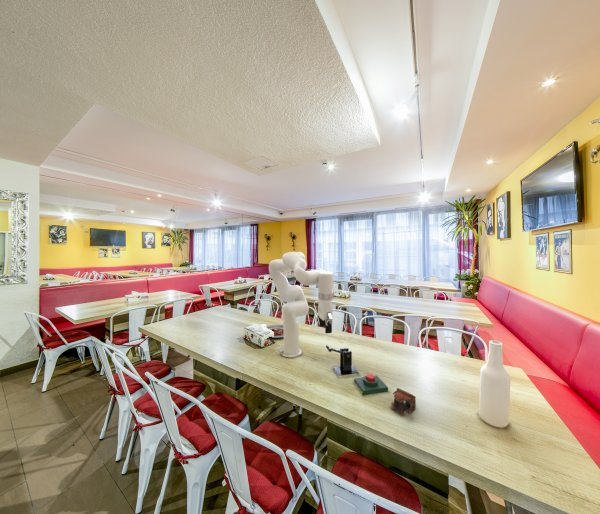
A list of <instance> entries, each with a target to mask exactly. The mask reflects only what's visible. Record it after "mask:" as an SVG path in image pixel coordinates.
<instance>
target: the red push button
mask: <svg viewBox="0 0 600 514" xmlns="http://www.w3.org/2000/svg"><path fill="white" fill-rule="evenodd" d="M366 375H367V380H368V381H371V382H373V381H375V376H376V375H374V374H371V373H368V374H366Z"/></svg>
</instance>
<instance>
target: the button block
mask: <svg viewBox="0 0 600 514" xmlns="http://www.w3.org/2000/svg"><path fill="white" fill-rule="evenodd" d="M374 376H375V381H373V382H371V381H368V380H367V374H366V375H364V376H362V377H354V378H353V381H354V383H355V384H356V385H357V387H358V388H359V389H360V391H361V392H362V393H361V394H362V396H370V395H375V394H376V395H377V394H383V393H388V392H389V386H388V385H386V384H385V382H384V381H383V380H382V379H381V378H380V377H379V376H378V375H374Z"/></svg>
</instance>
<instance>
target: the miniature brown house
mask: <svg viewBox="0 0 600 514" xmlns="http://www.w3.org/2000/svg"><path fill="white" fill-rule="evenodd" d="M392 395H393V401H392V402H391V403H390V404H391V405H390V406H391V409H392V410H393V411H395V413H397V414H399V415H400V416H401V415H402V416H404V415H405V413H406V414H407V415H411V414H413V413H414V412H415V410H416V406H417V403H416V402H417V401H416V398H417V397H416V395H414V394H412V393H410V392H408V391H405V390H403V389H401V388H399V387H396V390H395V391H394V392H393V393H392Z"/></svg>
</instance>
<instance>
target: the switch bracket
mask: <svg viewBox="0 0 600 514" xmlns="http://www.w3.org/2000/svg"><path fill="white" fill-rule="evenodd" d="M339 350H340V351H343V350H346V352H343V355H342V354H341V353H339V365H337V366H333V367H332V368H333V370H334V371H335V372H336V374H337V376H339V377H341V376H349V375H350V376H351V375H357V374H360V372H359V371H358V369H356V367H355V366H354V364H353V353H352V352H353V351H351V350H349V347H341V348H339Z"/></svg>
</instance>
